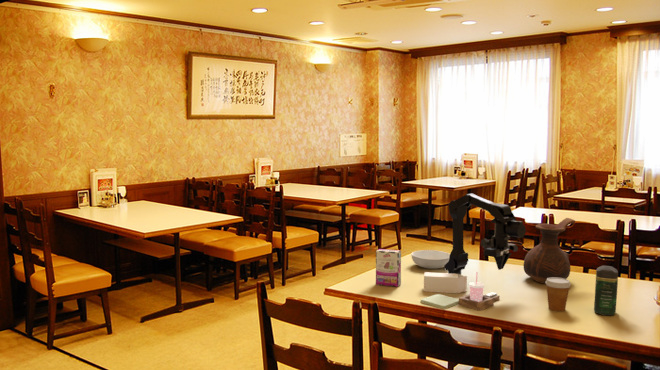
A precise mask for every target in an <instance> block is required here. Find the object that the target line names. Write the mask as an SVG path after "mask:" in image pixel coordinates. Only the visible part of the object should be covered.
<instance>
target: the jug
mask: <svg viewBox="0 0 660 370" xmlns="http://www.w3.org/2000/svg"><path fill="white" fill-rule="evenodd" d="M575 223H576V220H575V219H573V218H569V217H565V218H564V219H562V220H561V221H560V222H559V223H557V224H551V223H538V224H536V225H535V228H536V229H537V230H539V231H540V233H541V239H540V242H539V244H537V245H535V246H534V247H532V248H531V249H530V250H528V252H527V253H526V255H525V256H524V260H523V271H524V273H525V274H526V275H527V276H528V277H530V278H531V279H532V280H534V281H535V282H537V283H541V284H546V283H545V282H546V280H547V278H551V277H557V278H564V279H567V280H568V278H569V277H570V274H571V264H570V259H569V257H570V254H569V253H567V252H566V251H564V250H563V249H561V248H560V246H559V244H558V236H559V234H560V233H563V232H565V231H566V229H567V227H568V226H569V225H572V224H575Z"/></svg>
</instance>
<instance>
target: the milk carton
mask: <svg viewBox="0 0 660 370" xmlns="http://www.w3.org/2000/svg"><path fill="white" fill-rule="evenodd" d="M467 280H468V276H467V275H463V274H461V275H460V274H451V273H448V272H428V271H424V274H423V291H424V292H427V293H431V292H432V293H445V294H446V293H448V294H461V293H463V292H464V293H465V292H467V286H468V285H467V284H468V283H467V282H468V281H467Z"/></svg>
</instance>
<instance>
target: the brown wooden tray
mask: <svg viewBox="0 0 660 370" xmlns="http://www.w3.org/2000/svg"><path fill="white" fill-rule="evenodd" d="M484 295H485V294H483V298H482V301H480V302H477V301H474V300H470V293H469V294H466V295H462V296H460V297H458V299H459V304H458V306H462V307H464V306H465V308H469V309H472V310H476V311H483V310H485V309H487V308H490V307H493V306H494V303H495V302H497V301H499V300H500V295H497V296H495V297H492V298H491V297H485V300H484Z"/></svg>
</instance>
